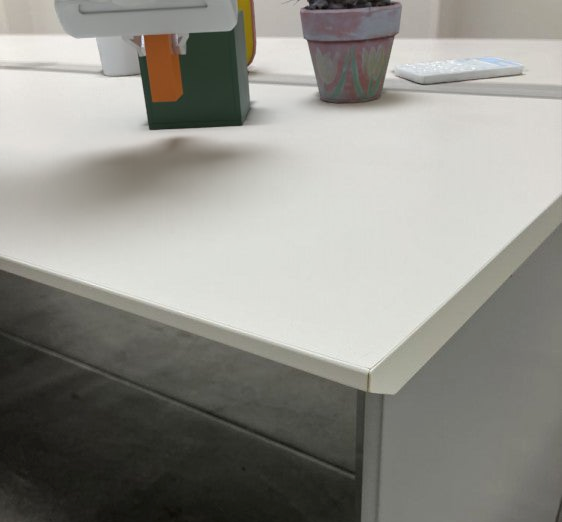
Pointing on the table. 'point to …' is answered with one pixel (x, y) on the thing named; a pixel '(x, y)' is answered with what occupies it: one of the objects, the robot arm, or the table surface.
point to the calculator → (458, 70)
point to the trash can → (205, 83)
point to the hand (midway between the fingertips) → (162, 50)
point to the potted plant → (350, 46)
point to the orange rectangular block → (163, 68)
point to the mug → (117, 57)
